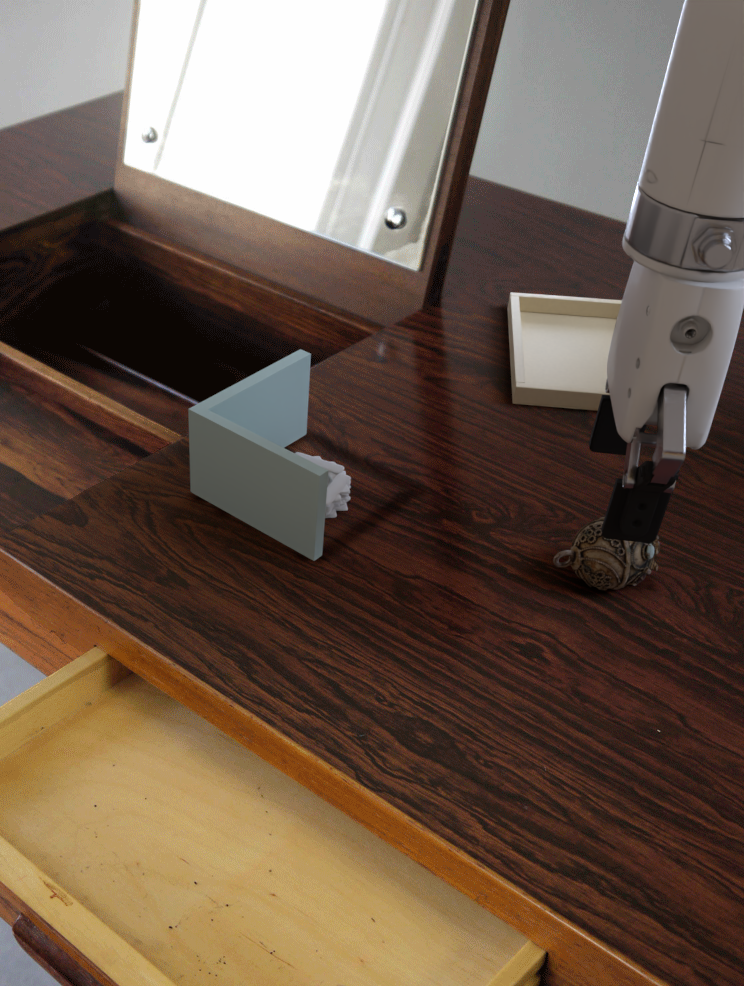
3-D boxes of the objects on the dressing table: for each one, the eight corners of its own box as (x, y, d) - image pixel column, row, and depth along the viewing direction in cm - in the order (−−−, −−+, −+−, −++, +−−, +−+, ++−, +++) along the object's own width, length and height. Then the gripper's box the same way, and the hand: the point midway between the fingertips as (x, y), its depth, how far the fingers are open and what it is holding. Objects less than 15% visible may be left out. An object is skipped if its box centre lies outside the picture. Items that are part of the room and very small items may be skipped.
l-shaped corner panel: (313, 567, 79) (319, 475, 73) (190, 497, 84) (188, 408, 79) (417, 494, 85) (429, 406, 80) (296, 435, 91) (300, 349, 86)
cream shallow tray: (506, 312, 107) (510, 291, 105) (643, 323, 106) (648, 301, 104) (511, 409, 94) (515, 386, 93) (667, 422, 93) (673, 399, 92)
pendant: (667, 597, 77) (688, 537, 73) (563, 614, 75) (580, 554, 72) (631, 552, 80) (649, 493, 77) (531, 568, 79) (545, 509, 75)
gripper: (807, 304, 54) (699, 583, 66) (743, 174, 67) (662, 428, 78) (647, 290, 55) (568, 569, 67) (613, 164, 67) (552, 417, 79)
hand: (619, 492), depth 72 cm, fingers open, 9 cm apart
